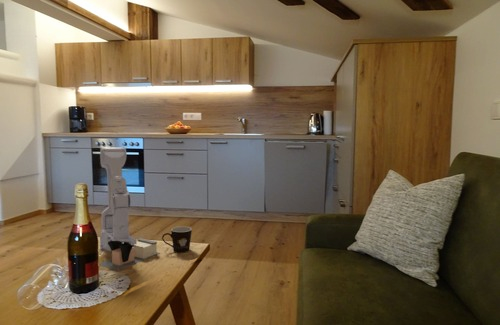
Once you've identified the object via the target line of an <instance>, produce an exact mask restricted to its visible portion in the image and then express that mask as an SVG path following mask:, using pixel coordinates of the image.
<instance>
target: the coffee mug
mask: <svg viewBox="0 0 500 325" xmlns="http://www.w3.org/2000/svg"><path fill="white" fill-rule="evenodd" d="M192 231H193V229H192V227H189V226H175V227H172V228H171V230H170V232H171V233H169V232H167V233H164V234H162V237H161V240H162V241H163V242H164V243H165V244H166V245H168V246H170V247H171V248H172V249H173V252H174V253H178V254H181V253H182V254H183V253H187V252H189V251H190V247H191V238H192ZM167 235H168V236H170V237H171V242H172V244H170V243H168V242H167V241H165V239H164V237H165V236H167Z"/></svg>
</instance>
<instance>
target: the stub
mask: <svg viewBox="0 0 500 325" xmlns="http://www.w3.org/2000/svg"><path fill="white" fill-rule="evenodd" d="M111 259H112V264H115V265H119V266H120V265H123V264H125V263H128V262H131V261H133V260H134V247H132V249H131V252H130V255H129V259H128V261H126V262H123V261H122V253H121V249H120V248H119V249H116V250H113V251H111Z"/></svg>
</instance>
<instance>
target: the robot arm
mask: <svg viewBox="0 0 500 325" xmlns="http://www.w3.org/2000/svg"><path fill="white" fill-rule="evenodd" d="M99 150H100V153H99V155H100V156H99V158H100V166H101V168H103V169H105V171H106V178H107V179H106V181H107V182H106V183H107V205H108V206H107V207H106V208H105V209H104V210H103V211H102V212H101V217H100V218H101V221H100V222H101V223H100V224H101V229H102V230H101V232H100V233H99V247H100V248H99V250H105V251H108V252H112V251H113V250H116V249H119V248H120V249H121V253H122V261H123V262H126V261H128V259H129V255H130V252H131V249H132V247H133V246H134V245H135V244H137V242H138V241H137V239H138V238H134V237H133V236H131V235H130V231H129V230H130V228H129V227H130V213H129V212H130V208H131V202H132V201H131V195H130V192H129V190H128V187H127V180H126V178H124V177H123V167H124V165H125V164H126V161H127V149H126V147H124V146H122V147H112V146H111V147H109V146H108V147H106V146H105V147H104V146H102V147H100V148H99Z"/></svg>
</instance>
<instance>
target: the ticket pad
mask: <svg viewBox="0 0 500 325" xmlns="http://www.w3.org/2000/svg"><path fill="white" fill-rule="evenodd" d="M136 239H137V244H135V245H134V246H133V247H134V256H135V257H138V258H142V259H145V258H147V257H150V256H152V255H155V254H157V252H158V251H157V245H158V242H157V241H154V240H150V239H145V238H142V237H140V238H136ZM145 260H146V259H145Z"/></svg>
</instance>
